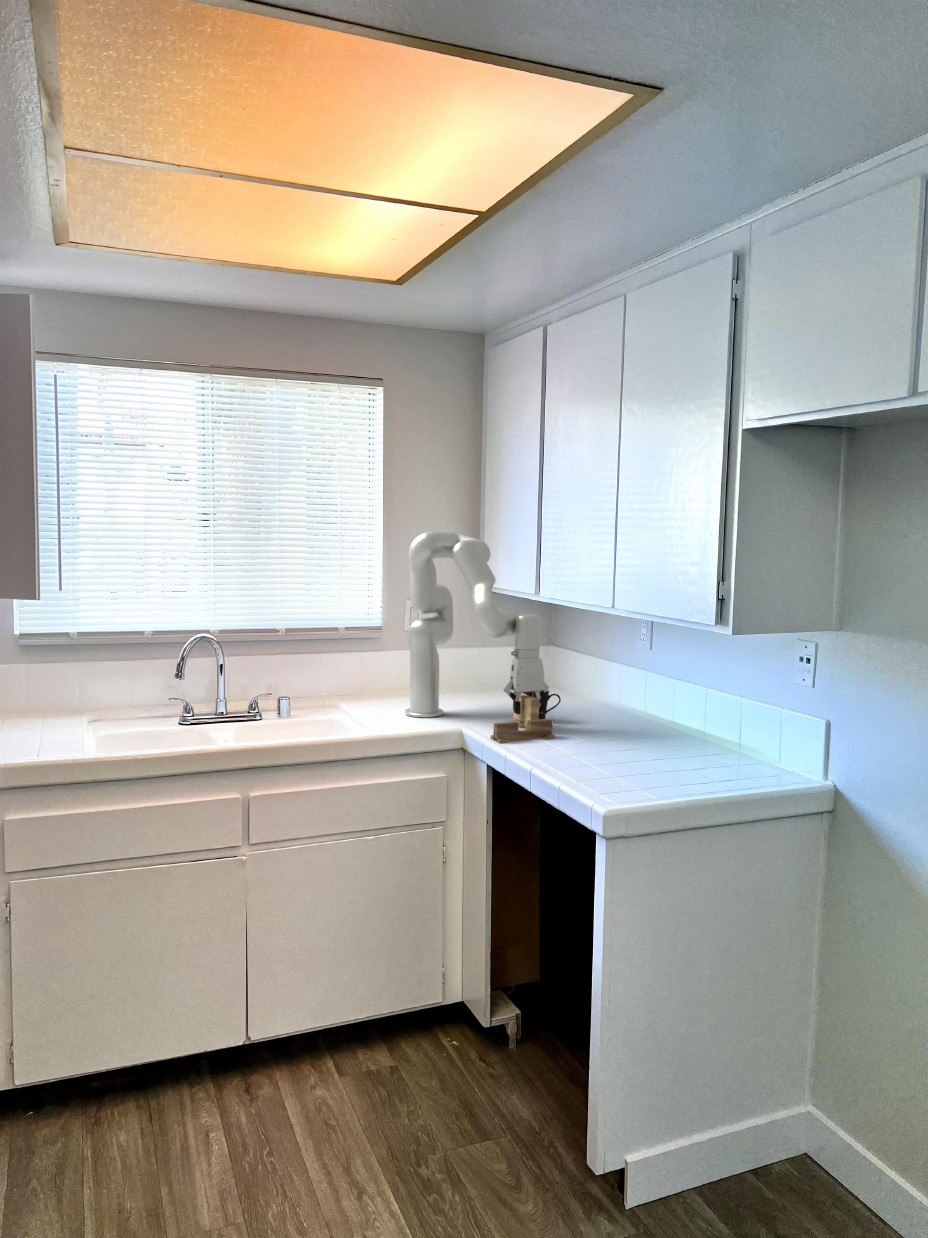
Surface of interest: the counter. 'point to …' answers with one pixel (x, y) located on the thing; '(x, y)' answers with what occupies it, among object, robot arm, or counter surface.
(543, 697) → the coffee mug
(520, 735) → the walnut notched block
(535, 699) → the oak slotted plate
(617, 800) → the counter surface
